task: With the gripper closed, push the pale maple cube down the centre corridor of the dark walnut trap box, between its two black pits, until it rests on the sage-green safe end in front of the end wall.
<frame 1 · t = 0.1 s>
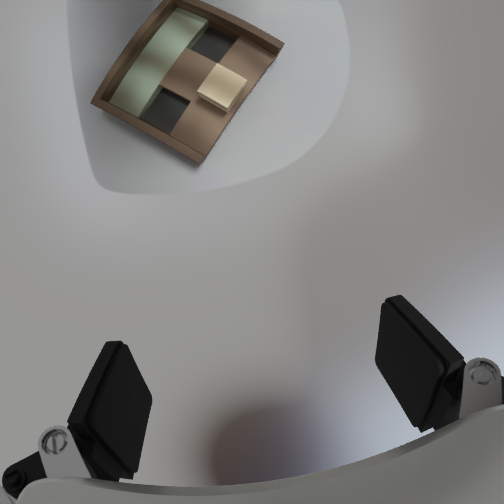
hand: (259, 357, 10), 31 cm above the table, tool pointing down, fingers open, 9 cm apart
trap box: (188, 76, 32), on the table
maple block: (222, 92, 31), point 2 cm above the table, touching trap box
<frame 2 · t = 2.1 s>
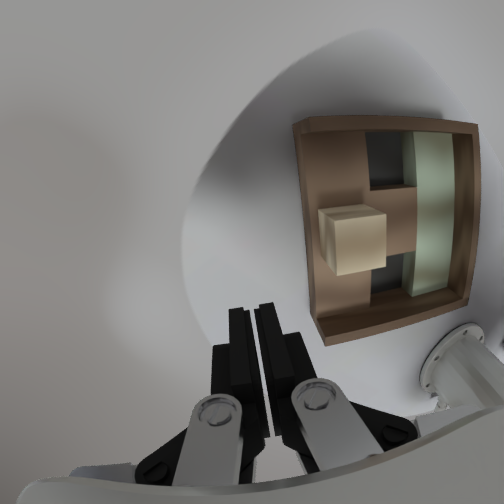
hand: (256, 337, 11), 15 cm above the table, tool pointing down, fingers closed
trap box: (385, 216, 25), on the table
maple block: (342, 230, 23), point 2 cm above the table, touching trap box
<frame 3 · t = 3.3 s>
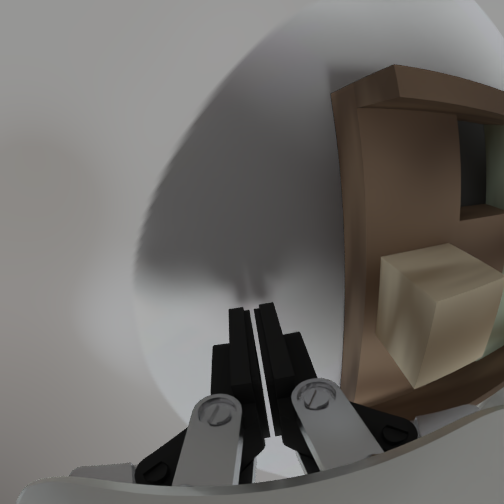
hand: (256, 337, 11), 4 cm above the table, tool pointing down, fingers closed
trap box: (459, 252, 14), on the table
maple block: (414, 289, 12), point 2 cm above the table, touching trap box
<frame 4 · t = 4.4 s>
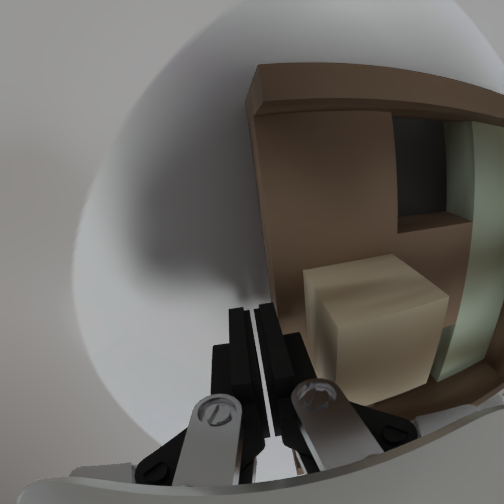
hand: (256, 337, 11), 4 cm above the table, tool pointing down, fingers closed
trap box: (412, 266, 14), on the table
maple block: (349, 304, 12), point 3 cm above the table, touching gripper, trap box
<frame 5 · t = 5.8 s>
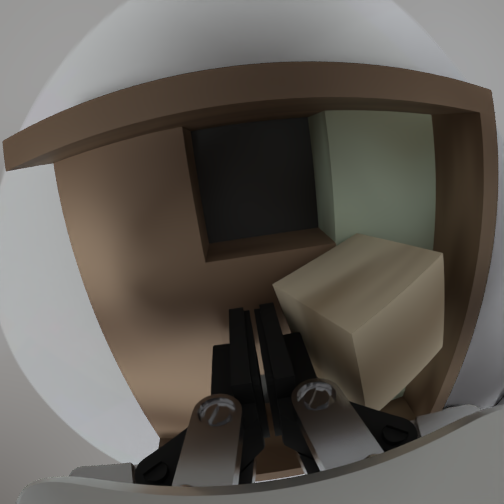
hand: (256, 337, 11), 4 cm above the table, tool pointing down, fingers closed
trap box: (277, 291, 14), on the table
maple block: (331, 301, 11), point 3 cm above the table, tilted 20°, touching gripper
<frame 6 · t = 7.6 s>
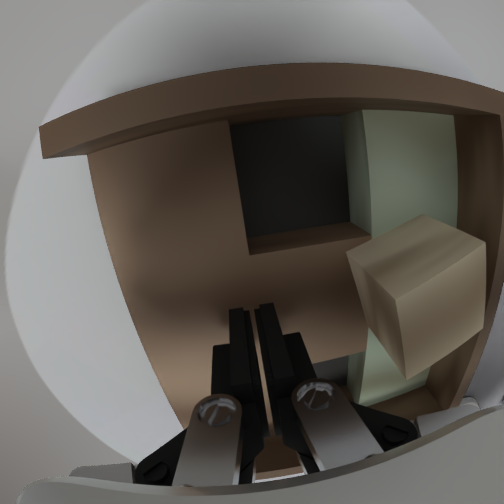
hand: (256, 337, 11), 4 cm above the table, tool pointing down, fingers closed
trap box: (309, 284, 14), on the table
maple block: (395, 271, 12), point 2 cm above the table, touching trap box
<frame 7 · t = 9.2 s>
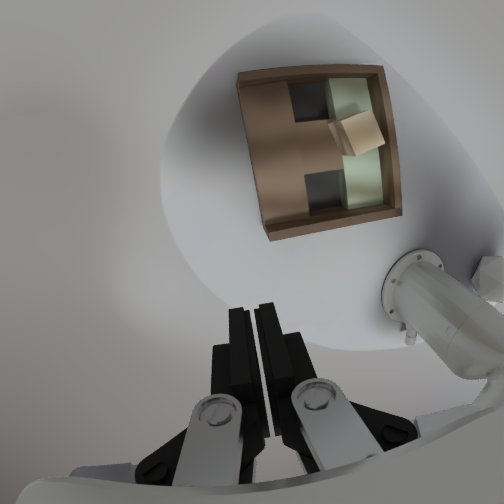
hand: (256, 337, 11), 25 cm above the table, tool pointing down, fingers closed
trap box: (316, 145, 33), on the table
maple block: (348, 133, 30), point 2 cm above the table, touching trap box
die: (479, 270, 42), on the table
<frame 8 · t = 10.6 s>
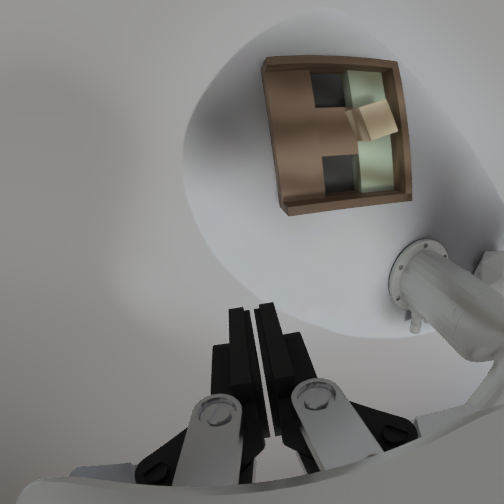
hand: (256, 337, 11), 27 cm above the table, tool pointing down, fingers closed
trap box: (333, 132, 34), on the table
maple block: (364, 121, 31), point 2 cm above the table, touching trap box
die: (481, 265, 44), on the table
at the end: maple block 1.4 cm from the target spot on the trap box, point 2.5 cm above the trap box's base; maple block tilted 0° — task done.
